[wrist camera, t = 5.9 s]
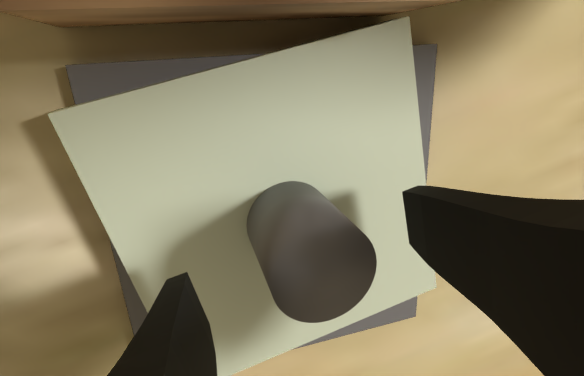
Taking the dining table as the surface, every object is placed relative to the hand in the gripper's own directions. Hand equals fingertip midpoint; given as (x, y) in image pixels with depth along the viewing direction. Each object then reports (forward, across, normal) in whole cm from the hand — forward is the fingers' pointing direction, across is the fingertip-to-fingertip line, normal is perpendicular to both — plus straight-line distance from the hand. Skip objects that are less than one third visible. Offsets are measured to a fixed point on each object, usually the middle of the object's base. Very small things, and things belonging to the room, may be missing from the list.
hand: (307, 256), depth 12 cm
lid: (+2, 0, 0) cm, 3 cm away
